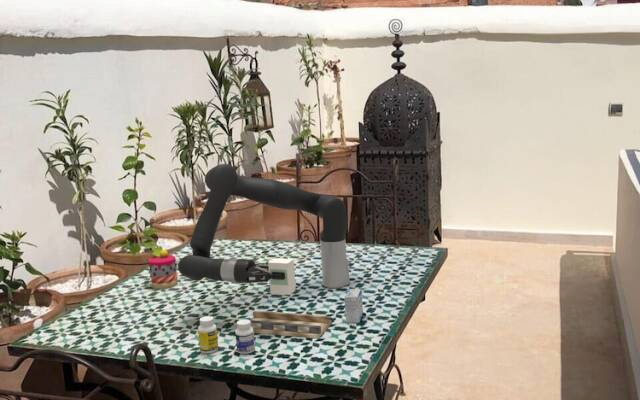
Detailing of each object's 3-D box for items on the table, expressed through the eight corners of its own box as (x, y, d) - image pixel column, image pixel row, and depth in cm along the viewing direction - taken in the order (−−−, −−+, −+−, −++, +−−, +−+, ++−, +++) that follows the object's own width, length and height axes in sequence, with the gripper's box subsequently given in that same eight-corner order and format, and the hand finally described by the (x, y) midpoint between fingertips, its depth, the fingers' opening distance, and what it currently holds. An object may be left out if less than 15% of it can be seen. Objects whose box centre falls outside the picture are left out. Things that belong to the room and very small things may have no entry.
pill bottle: (237, 347, 198) (234, 319, 196) (255, 346, 199) (252, 317, 197) (236, 355, 193) (234, 326, 191) (255, 353, 193) (252, 324, 192)
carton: (276, 288, 212) (274, 258, 210) (295, 290, 210) (293, 259, 208) (270, 293, 208) (268, 262, 206) (289, 294, 206) (287, 263, 204)
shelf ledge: (331, 323, 212) (331, 314, 212) (318, 338, 201) (317, 329, 201) (256, 317, 221) (256, 308, 221) (240, 331, 210) (239, 322, 210)
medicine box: (359, 323, 211) (358, 296, 209) (345, 323, 212) (344, 296, 210) (363, 314, 219) (361, 288, 217) (349, 313, 219) (348, 288, 218)
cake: (183, 281, 264) (179, 244, 261) (167, 290, 255) (162, 252, 252) (162, 279, 268) (158, 243, 266) (145, 288, 259) (140, 250, 256)
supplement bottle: (210, 355, 194) (207, 323, 192) (196, 352, 197) (192, 320, 195) (222, 348, 199) (219, 316, 197) (208, 345, 201) (205, 314, 200)
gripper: (226, 265, 206) (277, 268, 200) (247, 253, 219) (296, 255, 213) (228, 289, 207) (279, 292, 201) (249, 275, 220) (297, 278, 214)
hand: (287, 273), depth 207 cm, fingers closed on carton, 4 cm apart
